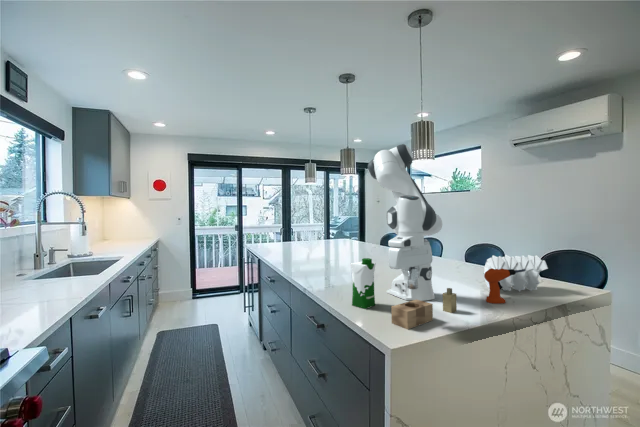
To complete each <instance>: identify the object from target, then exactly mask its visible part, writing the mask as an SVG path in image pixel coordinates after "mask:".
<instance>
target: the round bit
mask: <svg viewBox="0 0 640 427" xmlns="http://www.w3.org/2000/svg"><path fill="white" fill-rule="evenodd" d="M408 273H409V275H411V277H410V278H411V279H410V280H407V285H408V288H409V289H418V268H415V266H414V267H409V271H408Z"/></svg>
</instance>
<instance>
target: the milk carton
mask: <svg viewBox="0 0 640 427" xmlns="http://www.w3.org/2000/svg"><path fill="white" fill-rule="evenodd" d="M372 261H373V259H372V258H370V257H365V258H362V259H361V261H356V262H352V263H350V268H351V274H352V276H351V278H352V280H351V281H352V296H351V297H352V299H351V300H352V301H351V306H353V307H356V308H359V309H363V310H366V309H369V308H371V307H375V306H376V300H375V299H376V298H375V296H376V295H375V271H376V269H375V268H376V262H372Z"/></svg>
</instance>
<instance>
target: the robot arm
mask: <svg viewBox="0 0 640 427" xmlns="http://www.w3.org/2000/svg"><path fill="white" fill-rule="evenodd" d="M412 152H413V151H412V150H411V148H410V147H408V146H407V144H404V143H401V144H397V145H396V146H395V147H392V148H391V149H381V150H379V151H378V152H376V154H375V155H374V157H373V159H371V160H370V161H369V162H368V163H367V171H368V173H369V175H370V176H371V177H372V178H373V179H374V180H376V181H377V182H378V184H379V186H380V187H381V188H383V189H385V190H387V191H392V195H393V198H394V200H395V202H396V204H395V205H394V206H391V207H390V208H389V209H388V210H387V211H386V224H387V226H388V227H389V228H391V229H392V230H393V233H395V234H396V235H395V236H394V237H393V238H391V239H389V240H388V244H387V245H388V247H389V248H388V254H387V259H388V261H387V263H388V267H389V268H390V269H393V270H401V274H398V276H397V277H395V278H393V280H392V281H391V287H390V288H388V289H386V293H387V294H389V295H392V296H395V297H396V298H399V299H402V300H405V301H413V300H416V299H417V300H420V301H424V302H426V301H431V300H434V299H435V298H436V296H435V293H434V289H433V283H432V276H433V269H432V268H433V267H432V263H433V251H432V246H431V245H430V243H431V242H430V241H429V240H428V239H427V238H425V236H426V237H427V236H432V235H436V234H438V233H439V232H441V230H442V229H443V220H442V218H441V216H440V215H439V214H437V213H436V211H435V208H433V206H431V204H429V202H428V201H427V199H426V198H425V196H424V194H423V193H422V191H421V190H420V188H419V186H418V184H417V183H416V181H415V179H414V178H412V176H411V175H410V173H409V172H408V171H407V169H408V170H409V169H411V165H412V163H413V160H414V159H413V153H412ZM406 168H407V169H406ZM414 266H415V268H418V289H409V288H408V285H407V280H410V279H411V278H410V277H411V275H409V273H408V271H409V267H414Z"/></svg>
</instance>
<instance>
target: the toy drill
mask: <svg viewBox="0 0 640 427" xmlns="http://www.w3.org/2000/svg"><path fill="white" fill-rule="evenodd" d="M523 271H525V269H522V270H513V269H508V270H507V269H502V268H501V269H492V268H491V269H489V270H488V271H486V272H485V274H484V275H483V279H484V278H485V279H486V280H487V281H488V282H489V287H490V288H489V293H488V296H486V298H485V301H486V303H488V304H505V303H506V302H507V301H506V299H505V298H504V297H502V296H501V290H503V289H502V288H503V287H502V286H501V284H500V282H499V281H501V280H503V279H505V278H507V277H509V276H511V275H515V274H516V273H518V272H523Z"/></svg>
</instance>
